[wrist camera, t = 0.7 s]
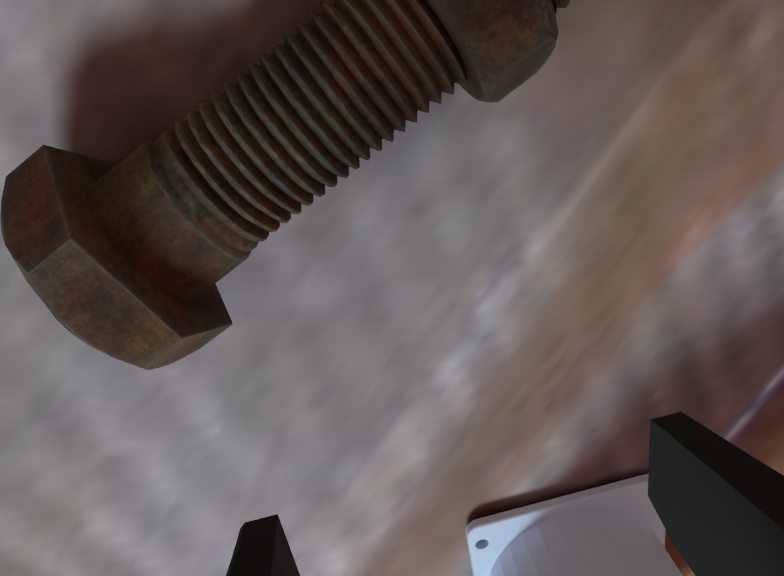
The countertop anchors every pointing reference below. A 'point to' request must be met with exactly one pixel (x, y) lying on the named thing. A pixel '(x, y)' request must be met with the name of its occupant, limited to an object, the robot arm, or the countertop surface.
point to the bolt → (248, 165)
